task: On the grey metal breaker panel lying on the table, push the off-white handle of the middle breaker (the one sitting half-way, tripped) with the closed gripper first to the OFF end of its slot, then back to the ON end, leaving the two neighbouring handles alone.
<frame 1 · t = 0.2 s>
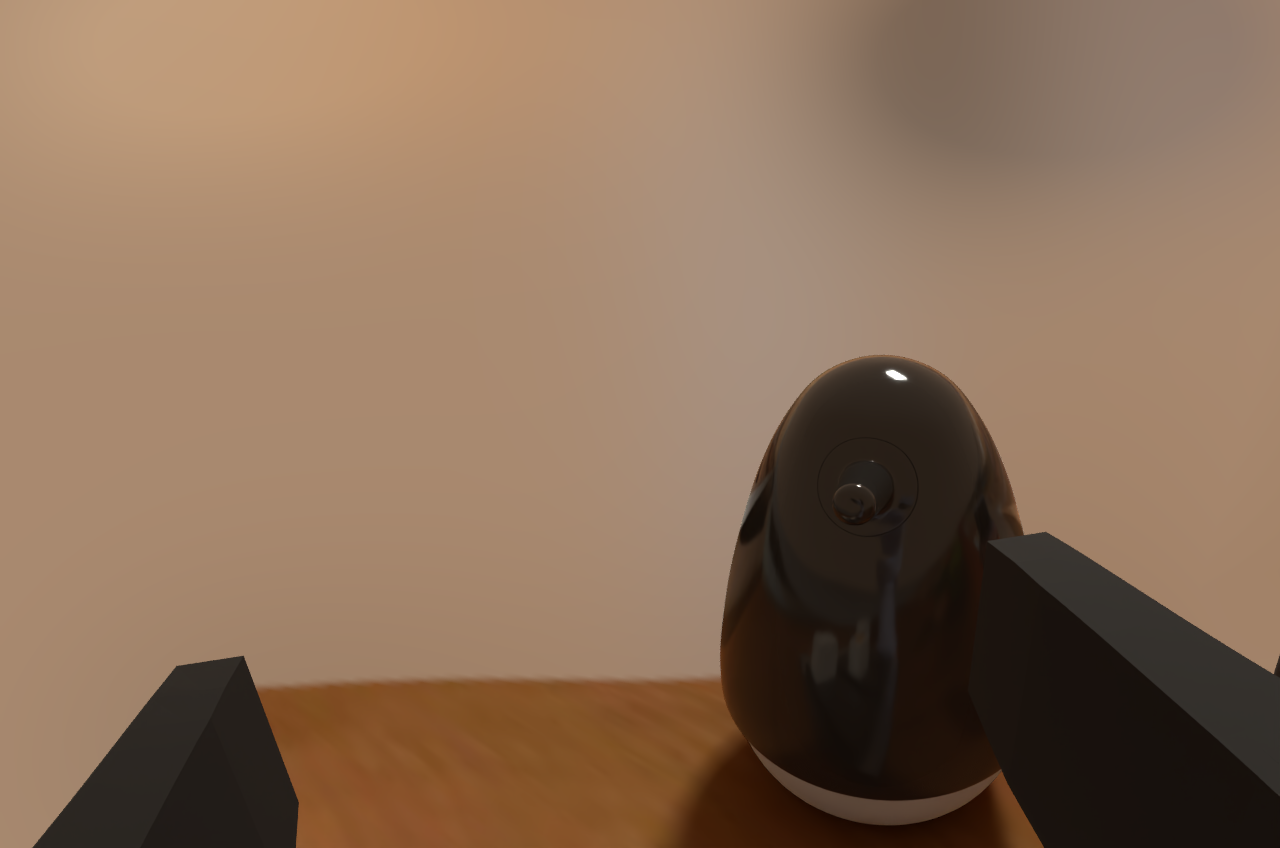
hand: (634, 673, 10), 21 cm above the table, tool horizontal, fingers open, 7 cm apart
pump dispenser: (872, 758, 36), on the table
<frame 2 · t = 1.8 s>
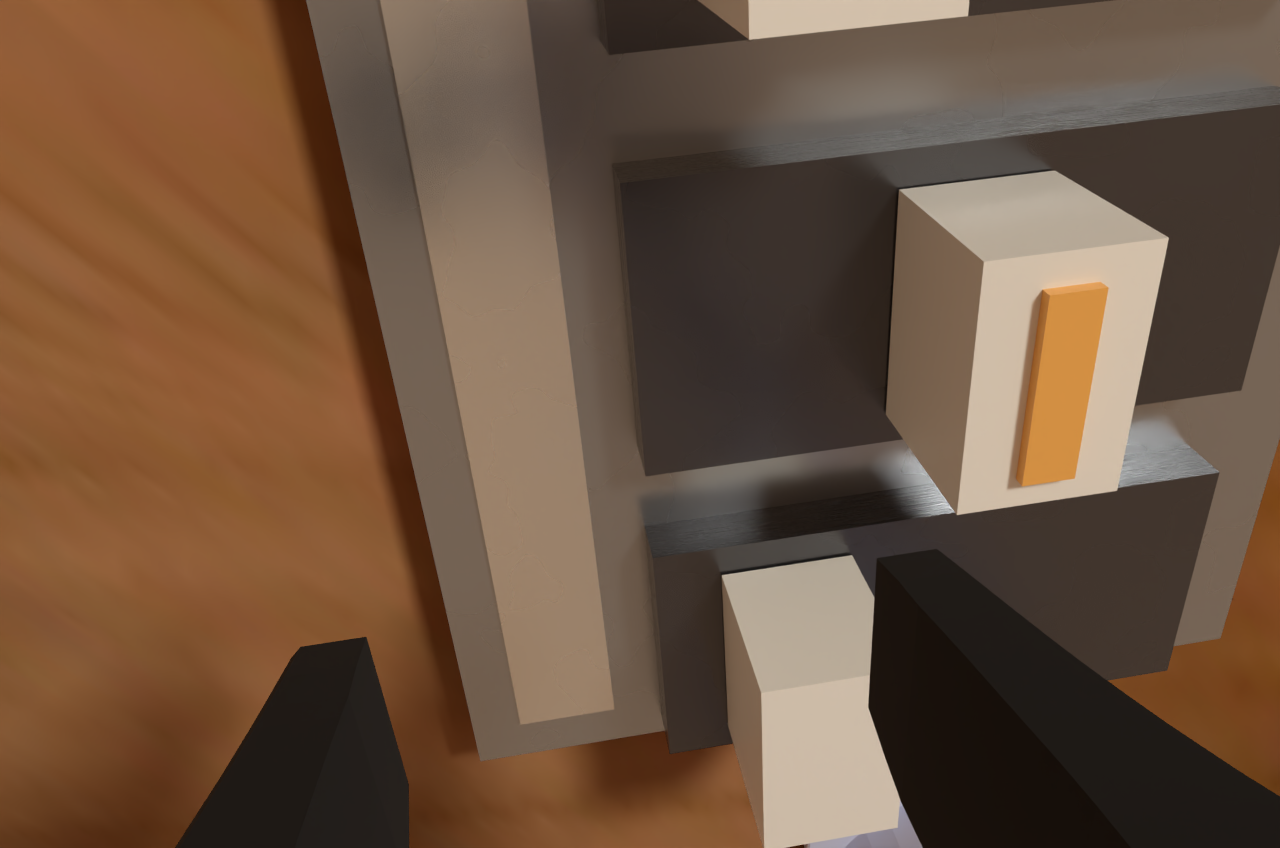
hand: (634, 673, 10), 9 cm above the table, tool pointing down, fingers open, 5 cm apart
breaker panel: (861, 257, 18), on the table
breaker middle: (1010, 341, 15), point 4 cm above the table, slide at 0.0 cm
breaker 2: (808, 700, 19), point 4 cm above the table, slide at 3.0 cm
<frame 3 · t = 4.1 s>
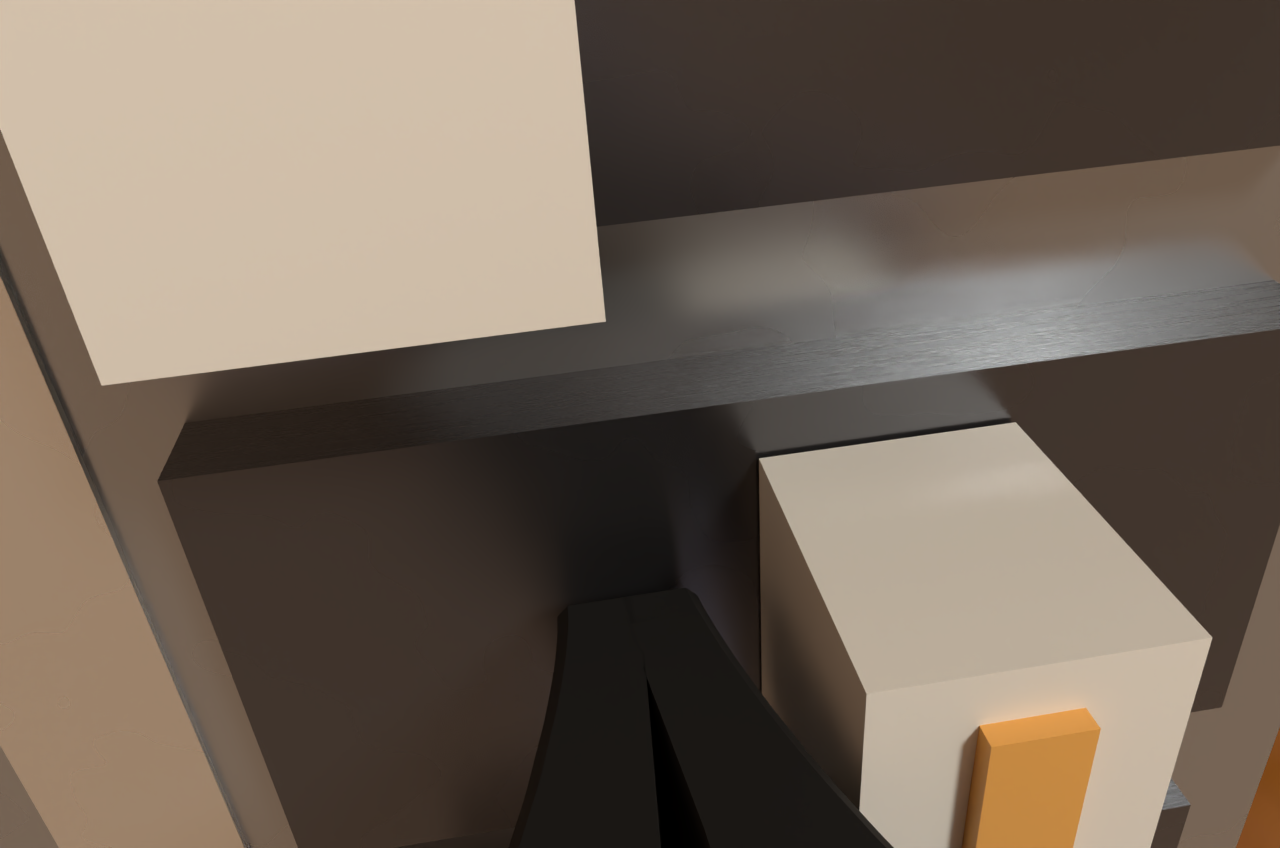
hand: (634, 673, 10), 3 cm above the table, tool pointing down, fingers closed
breaker panel: (653, 506, 12), on the table
breaker middle: (938, 717, 9), point 4 cm above the table, slide at -1.0 cm, touching gripper
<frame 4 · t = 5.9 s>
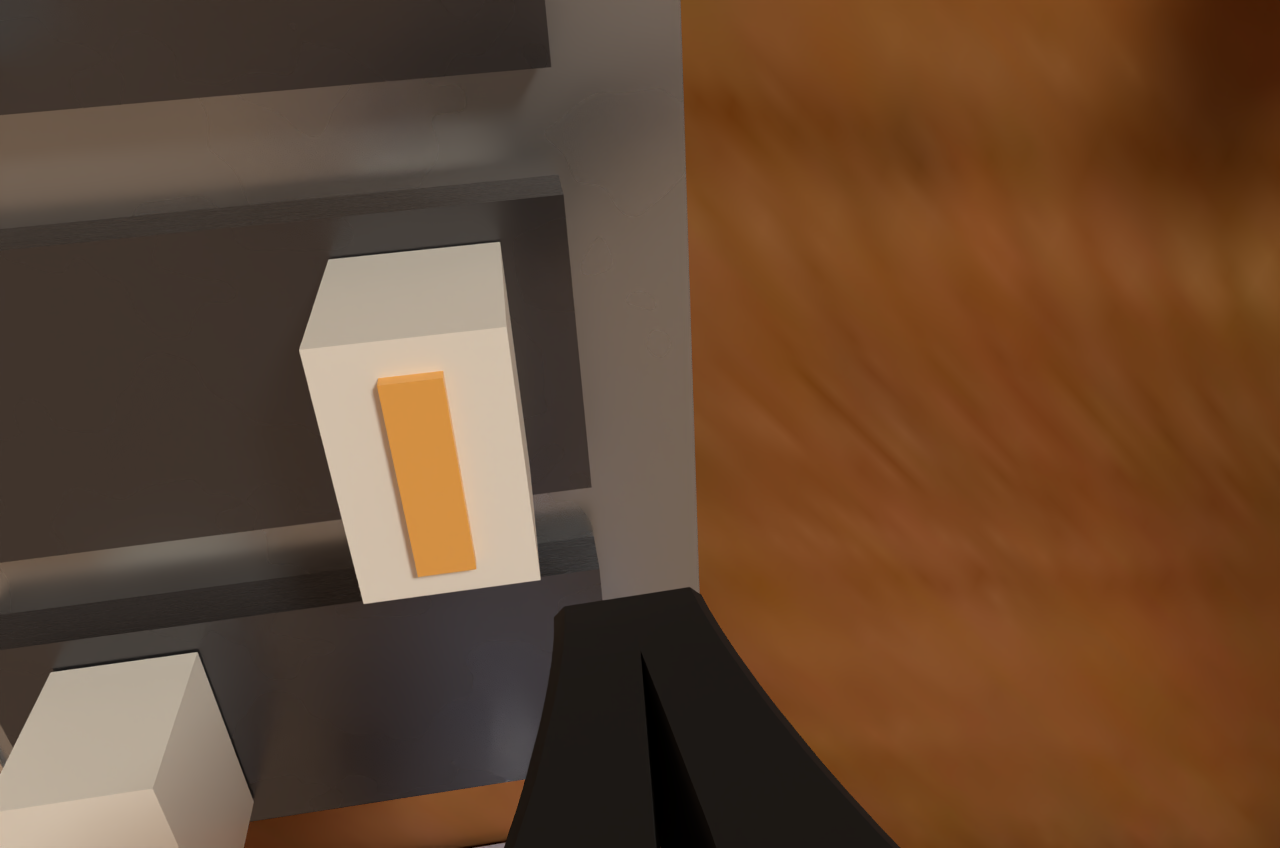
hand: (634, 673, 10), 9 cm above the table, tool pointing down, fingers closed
breaker panel: (191, 339, 17), on the table
breaker middle: (433, 421, 15), point 4 cm above the table, slide at -3.2 cm
breaker 2: (135, 807, 18), point 4 cm above the table, slide at 3.0 cm
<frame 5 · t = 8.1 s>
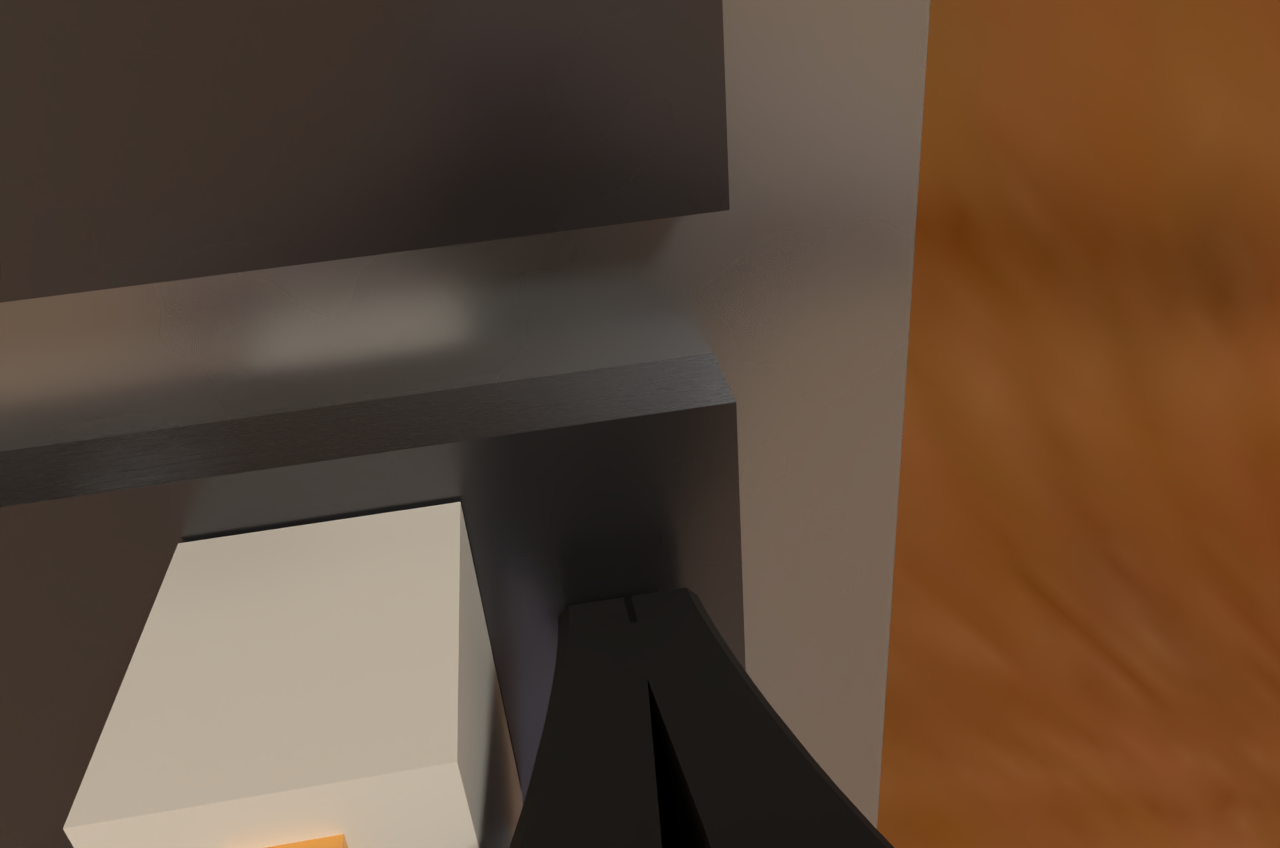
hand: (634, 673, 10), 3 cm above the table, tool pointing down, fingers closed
breaker panel: (155, 581, 12), on the table
breaker middle: (353, 816, 9), point 4 cm above the table, slide at -1.7 cm, touching gripper
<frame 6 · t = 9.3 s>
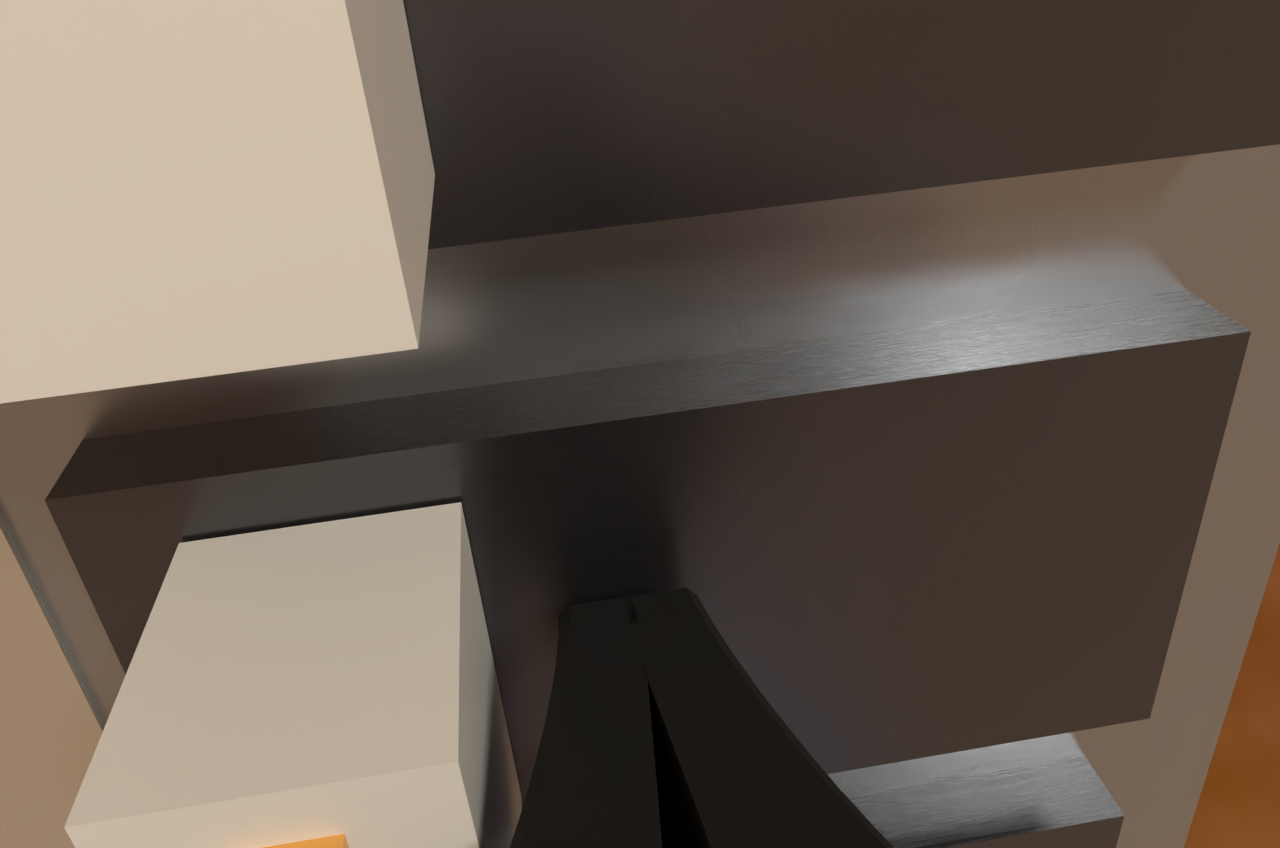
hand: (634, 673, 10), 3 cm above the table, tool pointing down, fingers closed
breaker panel: (577, 518, 12), on the table
breaker middle: (353, 816, 9), point 4 cm above the table, slide at 3.3 cm, touching gripper
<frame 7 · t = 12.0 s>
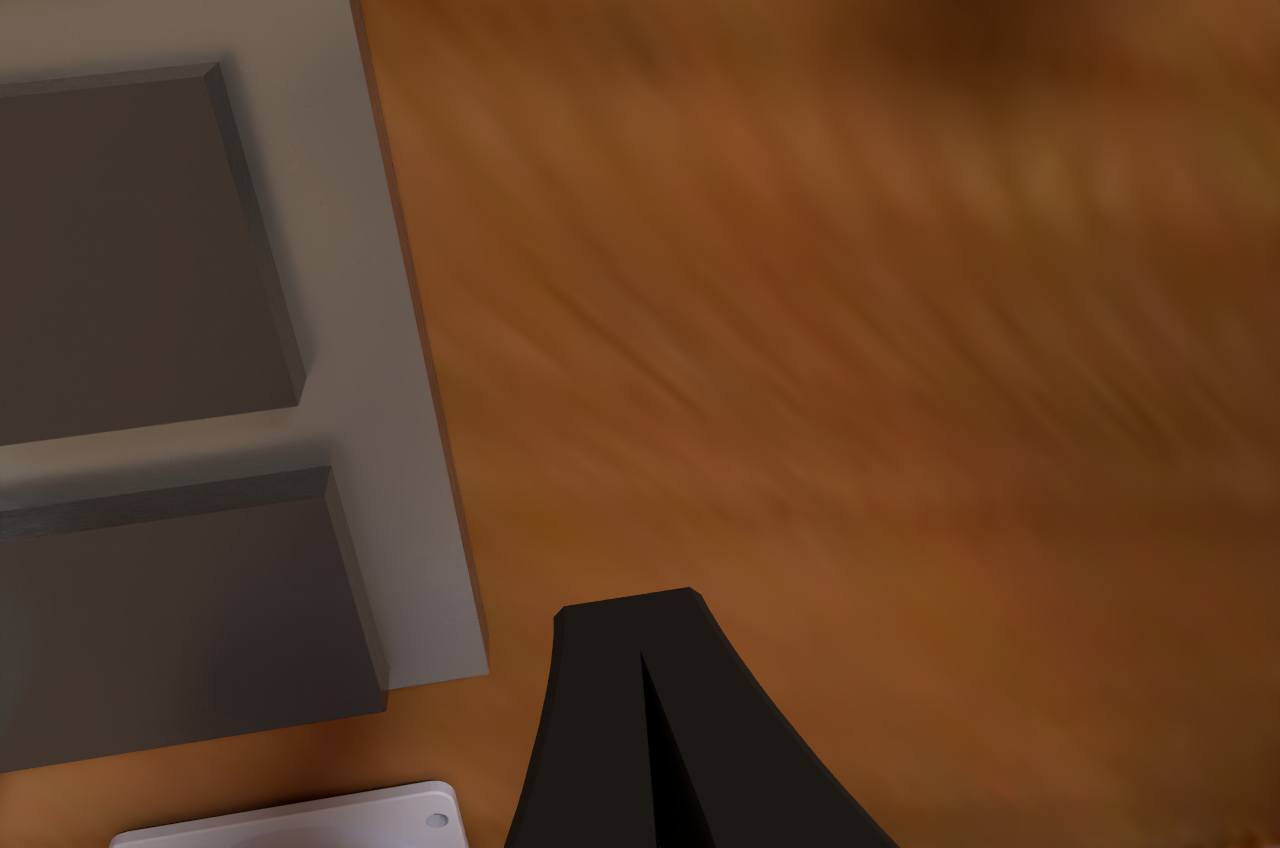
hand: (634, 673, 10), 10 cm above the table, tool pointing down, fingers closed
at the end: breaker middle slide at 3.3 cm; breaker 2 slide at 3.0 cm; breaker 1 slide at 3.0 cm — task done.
